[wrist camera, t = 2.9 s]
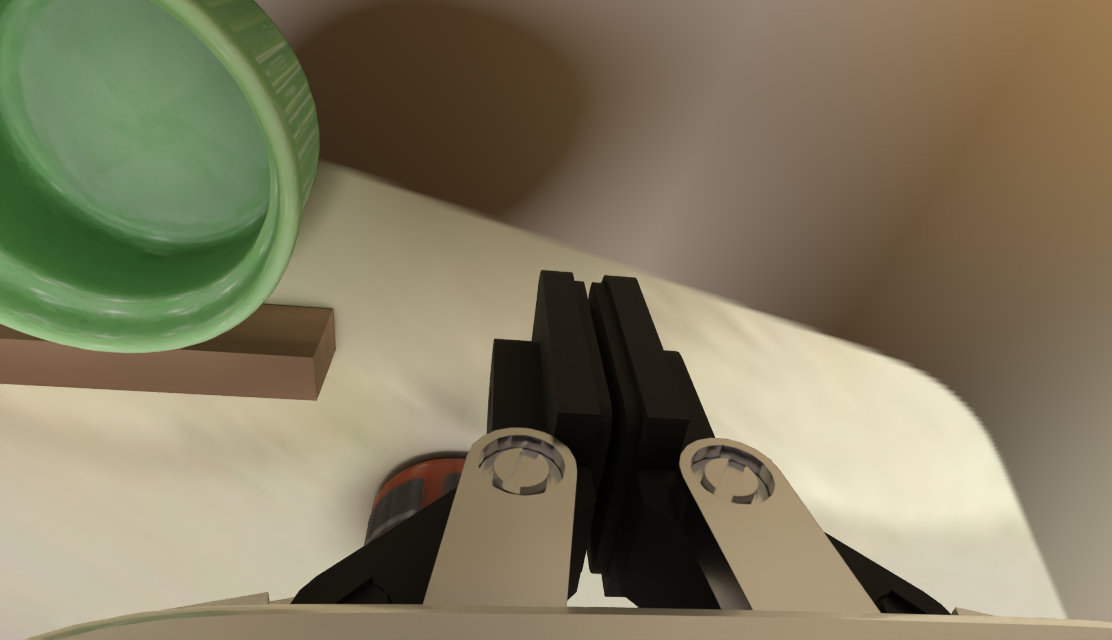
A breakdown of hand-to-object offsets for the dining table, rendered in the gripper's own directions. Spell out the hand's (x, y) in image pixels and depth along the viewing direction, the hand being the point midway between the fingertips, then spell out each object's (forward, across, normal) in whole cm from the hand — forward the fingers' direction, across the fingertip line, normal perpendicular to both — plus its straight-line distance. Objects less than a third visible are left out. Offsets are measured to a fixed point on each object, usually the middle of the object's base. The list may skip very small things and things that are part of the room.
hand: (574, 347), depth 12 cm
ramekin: (+8, +10, -1) cm, 13 cm away
